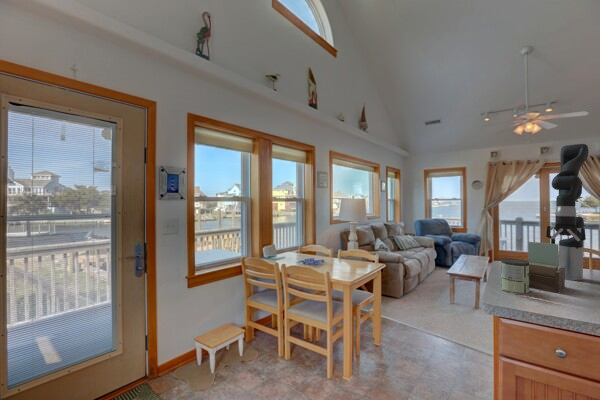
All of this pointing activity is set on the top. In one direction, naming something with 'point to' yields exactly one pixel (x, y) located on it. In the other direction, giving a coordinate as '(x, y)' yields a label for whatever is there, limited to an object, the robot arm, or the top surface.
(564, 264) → the robot arm
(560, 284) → the rack
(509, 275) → the coffee can
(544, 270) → the offcut front
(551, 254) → the tall sheet
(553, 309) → the top surface
